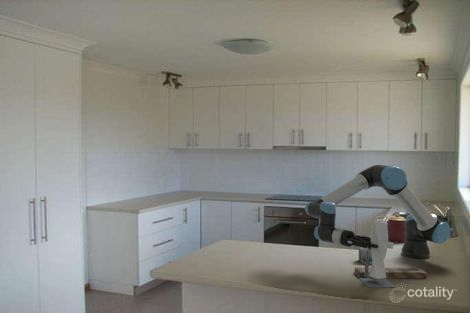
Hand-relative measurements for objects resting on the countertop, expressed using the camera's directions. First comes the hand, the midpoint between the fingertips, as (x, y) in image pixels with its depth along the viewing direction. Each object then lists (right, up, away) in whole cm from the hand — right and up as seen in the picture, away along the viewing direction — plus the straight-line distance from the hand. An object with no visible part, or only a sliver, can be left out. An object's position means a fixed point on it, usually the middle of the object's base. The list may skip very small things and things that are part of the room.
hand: (389, 246), depth 200 cm
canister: (+37, -15, +96) cm, 104 cm away
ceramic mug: (+2, -16, +40) cm, 43 cm away
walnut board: (+6, -17, +17) cm, 25 cm away
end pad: (-4, -17, +4) cm, 18 cm away
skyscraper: (-4, -15, +4) cm, 16 cm away
